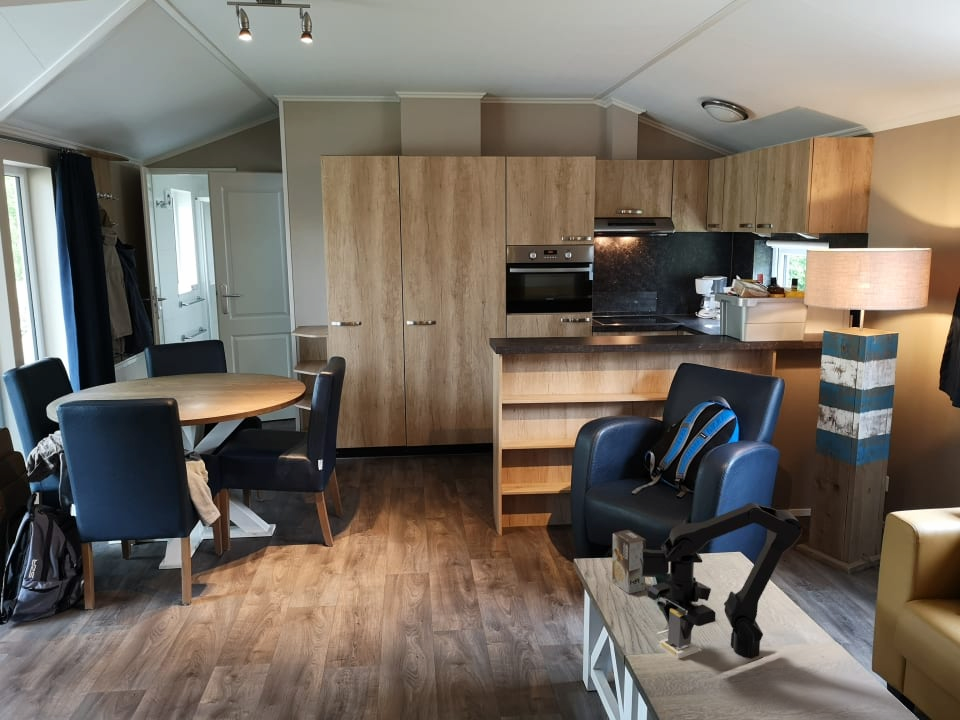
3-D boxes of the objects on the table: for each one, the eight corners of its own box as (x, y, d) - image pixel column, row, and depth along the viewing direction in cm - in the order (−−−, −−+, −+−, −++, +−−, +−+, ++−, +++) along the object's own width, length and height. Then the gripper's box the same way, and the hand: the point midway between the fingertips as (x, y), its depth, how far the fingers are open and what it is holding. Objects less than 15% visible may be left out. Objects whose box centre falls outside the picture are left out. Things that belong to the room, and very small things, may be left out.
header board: (707, 652, 195) (707, 643, 195) (674, 664, 190) (675, 654, 190) (672, 630, 207) (672, 621, 206) (640, 640, 201) (640, 631, 201)
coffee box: (646, 590, 230) (647, 539, 227) (628, 594, 227) (629, 543, 225) (627, 578, 238) (629, 529, 235) (610, 582, 235) (611, 532, 233)
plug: (690, 643, 194) (692, 612, 192) (678, 647, 192) (680, 616, 190) (678, 635, 198) (680, 604, 196) (667, 639, 196) (668, 608, 194)
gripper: (733, 584, 188) (730, 643, 190) (679, 556, 204) (677, 611, 206) (699, 594, 182) (696, 655, 185) (647, 565, 199) (645, 621, 201)
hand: (679, 634), depth 194 cm, fingers closed on plug, 4 cm apart
